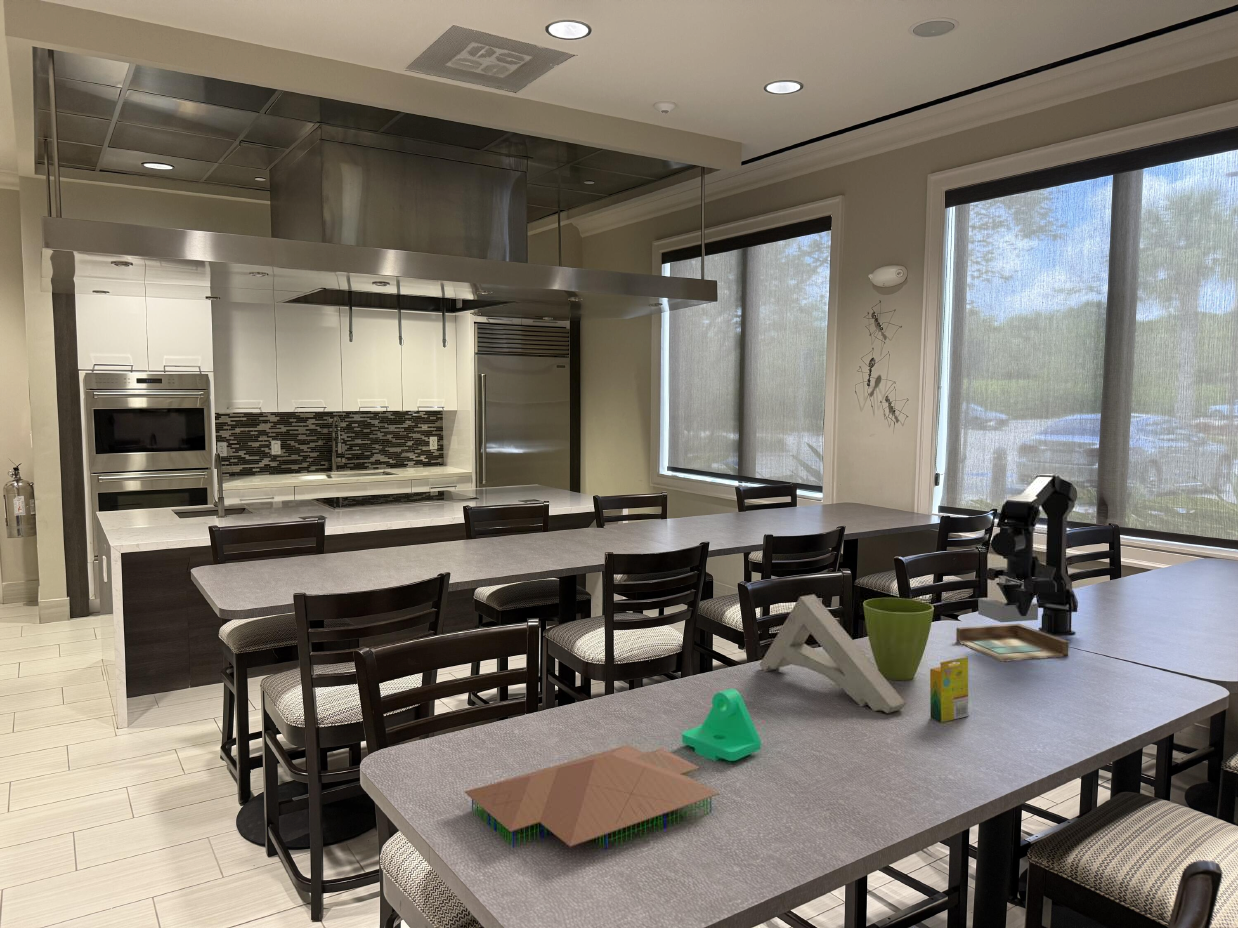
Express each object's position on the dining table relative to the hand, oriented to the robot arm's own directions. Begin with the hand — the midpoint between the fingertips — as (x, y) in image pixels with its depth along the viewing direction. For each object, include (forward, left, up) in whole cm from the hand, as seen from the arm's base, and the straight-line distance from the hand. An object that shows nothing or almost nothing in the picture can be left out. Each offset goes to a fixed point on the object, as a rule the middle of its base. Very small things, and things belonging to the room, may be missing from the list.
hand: (1019, 614), depth 204 cm
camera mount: (+90, +41, -10) cm, 100 cm away
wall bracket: (+57, +15, -10) cm, 60 cm away
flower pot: (+38, +10, -10) cm, 40 cm away
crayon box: (+42, +36, -10) cm, 56 cm away
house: (+114, +58, -10) cm, 129 cm away
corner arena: (0, -3, -9) cm, 10 cm away
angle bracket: (+1, -3, -1) cm, 3 cm away
